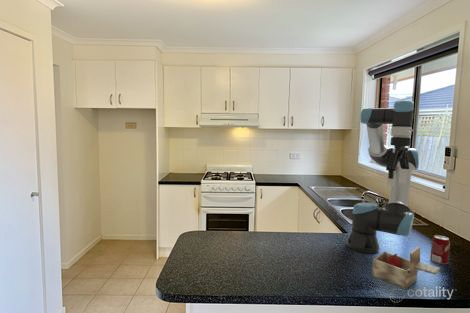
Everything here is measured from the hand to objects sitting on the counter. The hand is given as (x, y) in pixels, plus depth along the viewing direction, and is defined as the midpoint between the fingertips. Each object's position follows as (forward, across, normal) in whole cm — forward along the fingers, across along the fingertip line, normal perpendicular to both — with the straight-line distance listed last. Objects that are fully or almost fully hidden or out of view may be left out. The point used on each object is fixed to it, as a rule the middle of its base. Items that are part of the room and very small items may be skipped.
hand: (396, 184), depth 124 cm
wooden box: (+37, -12, -6) cm, 39 cm away
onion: (+36, -11, -5) cm, 38 cm away
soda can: (+37, +21, -14) cm, 45 cm away
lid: (+26, -12, -13) cm, 31 cm away
